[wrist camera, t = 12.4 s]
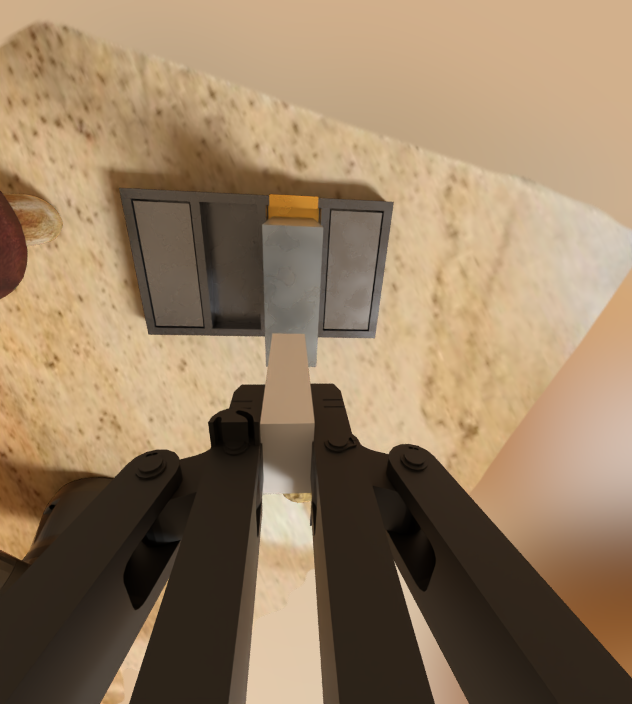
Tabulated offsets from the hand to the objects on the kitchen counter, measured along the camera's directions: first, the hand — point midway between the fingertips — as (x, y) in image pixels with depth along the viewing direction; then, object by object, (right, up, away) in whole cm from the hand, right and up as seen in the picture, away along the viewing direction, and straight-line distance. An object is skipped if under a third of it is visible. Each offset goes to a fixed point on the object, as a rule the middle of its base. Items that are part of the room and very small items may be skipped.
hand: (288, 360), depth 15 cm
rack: (-4, +9, +19) cm, 22 cm away
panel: (-1, +9, +19) cm, 21 cm away
